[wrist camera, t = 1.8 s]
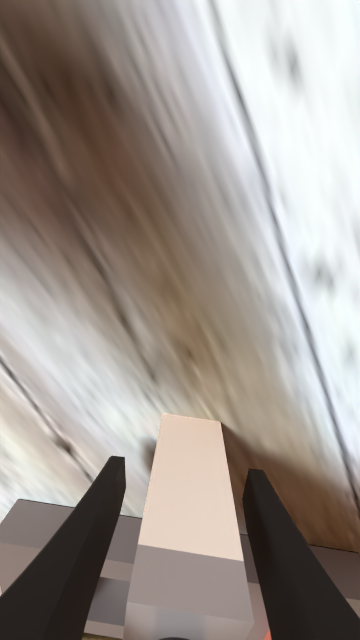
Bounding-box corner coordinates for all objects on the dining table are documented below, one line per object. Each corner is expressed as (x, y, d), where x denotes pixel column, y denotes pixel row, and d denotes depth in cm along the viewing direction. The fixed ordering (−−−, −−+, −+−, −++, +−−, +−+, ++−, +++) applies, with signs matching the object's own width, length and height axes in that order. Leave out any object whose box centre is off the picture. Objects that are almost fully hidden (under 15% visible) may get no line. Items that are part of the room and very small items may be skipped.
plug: (220, 421, 10) (284, 796, 3) (206, 476, 12) (229, 837, 4) (162, 412, 10) (96, 764, 3) (154, 468, 12) (95, 813, 4)
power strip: (358, 553, 13) (406, 637, 10) (311, 622, 16) (338, 703, 13) (17, 499, 13) (-31, 566, 10) (30, 576, 16) (-5, 646, 13)
